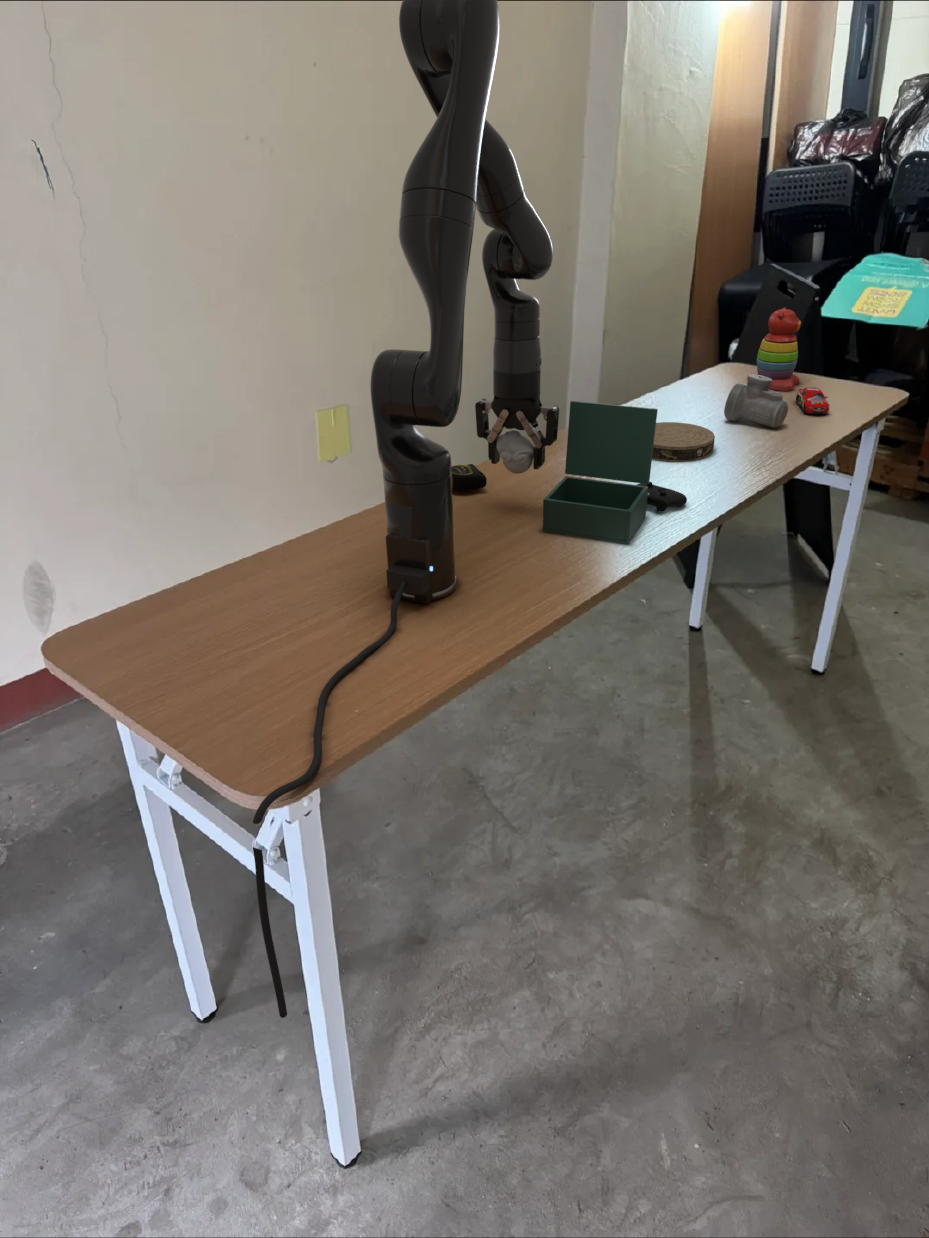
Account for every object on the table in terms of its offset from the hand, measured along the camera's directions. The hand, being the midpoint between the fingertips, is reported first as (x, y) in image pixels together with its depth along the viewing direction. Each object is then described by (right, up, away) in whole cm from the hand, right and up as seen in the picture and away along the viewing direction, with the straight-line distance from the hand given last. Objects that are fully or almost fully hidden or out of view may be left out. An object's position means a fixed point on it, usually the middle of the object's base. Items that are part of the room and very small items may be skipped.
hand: (516, 465), depth 145 cm
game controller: (+24, -6, +4) cm, 25 cm away
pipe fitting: (+54, +16, +41) cm, 70 cm away
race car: (+70, +22, +50) cm, 89 cm away
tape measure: (-8, -2, +13) cm, 16 cm away
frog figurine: (0, -1, +1) cm, 1 cm away
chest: (+13, -10, -3) cm, 17 cm away
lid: (+15, +3, -4) cm, 16 cm away
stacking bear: (+68, +32, +68) cm, 101 cm away
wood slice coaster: (+33, +8, +29) cm, 45 cm away
